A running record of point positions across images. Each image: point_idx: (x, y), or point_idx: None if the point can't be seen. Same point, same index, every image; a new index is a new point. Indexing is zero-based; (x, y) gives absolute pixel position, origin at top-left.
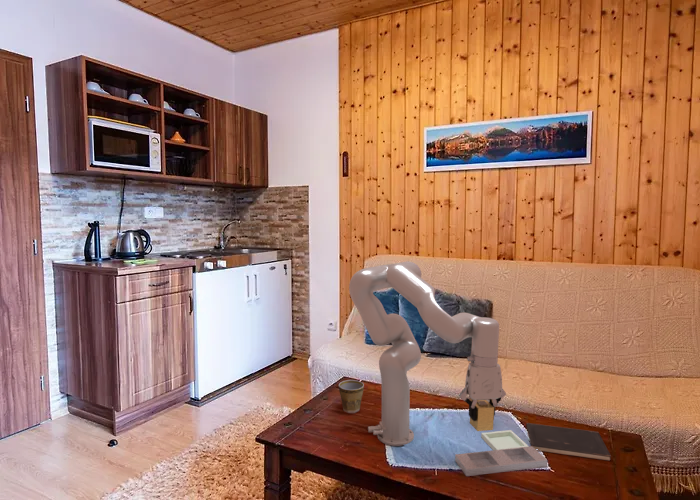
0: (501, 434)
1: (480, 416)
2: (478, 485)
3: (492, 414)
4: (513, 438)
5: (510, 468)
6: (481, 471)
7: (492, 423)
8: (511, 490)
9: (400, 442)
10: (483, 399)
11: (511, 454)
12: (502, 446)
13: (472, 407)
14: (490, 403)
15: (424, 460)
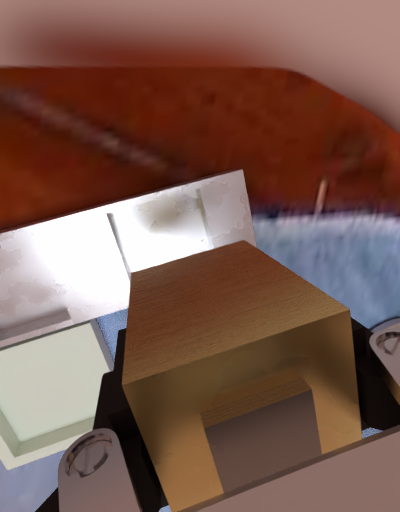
0: (53, 437)
1: (268, 280)
2: (200, 124)
3: (141, 325)
4: (7, 426)
5: (58, 216)
6: (180, 184)
7: (137, 288)
8: (80, 93)
9: (396, 327)
10: (394, 430)
11: (35, 321)
12: (62, 370)
13: (390, 340)
14: (150, 477)
15: (339, 256)
